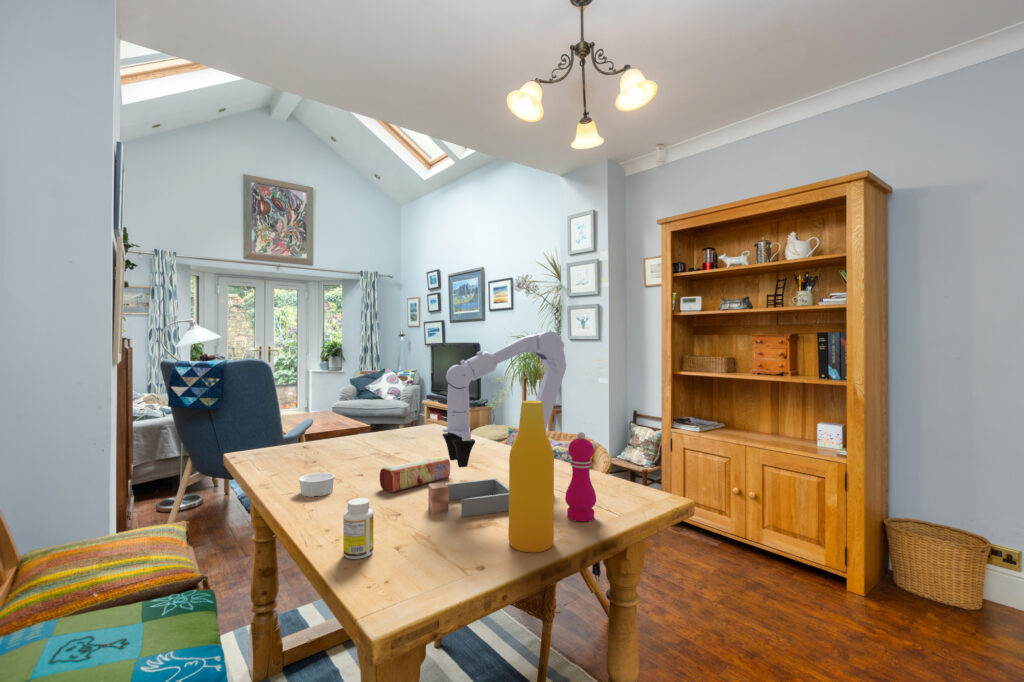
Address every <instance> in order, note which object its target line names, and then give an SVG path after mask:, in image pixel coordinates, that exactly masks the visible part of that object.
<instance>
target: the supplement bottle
mask: <svg viewBox="0 0 1024 682" xmlns="http://www.w3.org/2000/svg"><path fill="white" fill-rule="evenodd" d="M342 517H343V519H342V520H343V529H342V530H343V532H342V533H343V534H342V536H343V555H344V557H345V558H347V559H349V560H361V559H365V558H367V557H369V556H371V555H372V553H373V552H374V545H375V544H374V534H375V533H374V517H375V515H374V510H373V509H372V508H370V499H368V498H366V497H365V498H364V497H359V498H358V497H357V498H351V499H350V500H348V501H347V510H346V511H345V512H344V513H343V516H342Z"/></svg>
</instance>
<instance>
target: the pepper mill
mask: <svg viewBox="0 0 1024 682" xmlns="http://www.w3.org/2000/svg"><path fill="white" fill-rule="evenodd" d="M567 452H568V455H569V456H570V457H571V458H570V459H569V461H570V464H569V465H570V466H571V468H572V469H571V470H572V476H571V480H570V482H569V484H568V487H567V489H566V491H565V496H564V497H565V498H564V499H565V503H566V505H568V508H567V511H566V513H567V515H566V517H567V518H568V519H569V518H570V519H572V520H571V521H573V520H576V521H575V522H577V521H588V522H591V521H593V520H594V519H595V509H593V508H594V506H595V505H596V503H597V494H596V491H595V488H594V486H593V484H592V481H591V477H590V475H591V474H590V470H591V468H592V465H593V464H592V462H593V461H592V459H591V458H592V457H593V456H594V453H595V448H594V445H593V443H592V442H591V441H590V440H589V439H587V438H586V434H585V432H583V431H580V432H578V434H577V438H575V439H572V440H571V441H570V443H569V444H568V451H567ZM570 519H569V520H570ZM592 519H593V520H592ZM590 520H591V521H590Z"/></svg>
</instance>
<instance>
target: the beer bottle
mask: <svg viewBox="0 0 1024 682" xmlns="http://www.w3.org/2000/svg"><path fill="white" fill-rule="evenodd" d="M535 400H536V399H534V400H533V399H531V400H530V399H529V400H522V401H521V406H520V415H519V423H518V431H517V434H516V436H515V438H514V440H513V442H512V444H511V448H510V450H509V457H508V466H509V469H508V472H509V473H508V476H509V477H508V479H509V481H508V488H509V511H508V530H507V532H508V541H509V542H508V543H509V545H510V546H511V547H512V548H513V549H515V550H517V551H519V552H523V553H542V552H545V551H548V550H549V549H550V548H552V545H553V544H554V541H555V540H554V539H555V537H554V536H555V534H554V533H555V530H554V525H555V524H554V523H555V522H554V515H555V514H554V512H555V510H554V504H555V503H554V502H555V500H554V499H555V498H554V497H555V493H554V492H555V490H554V489H555V453H554V449H553V447H552V444H551V442H550V439H549V437H548V434H547V430H546V431H545V424H544V414H543V404H542V401H535Z"/></svg>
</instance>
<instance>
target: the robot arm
mask: <svg viewBox="0 0 1024 682" xmlns="http://www.w3.org/2000/svg"><path fill="white" fill-rule="evenodd" d="M564 348H565V343H564V341H563V339H562V338H561V337H560V336H559V334H558V333H557V332H555V331H550V330H549V331H537V332H535V333H533V334H528V335H526V336H523V337H520V338H518V339H517V340H515V341H513V342H511V343H509V344H507V345H505V346H503V347H501V348H500V349H498V350H495V351H494V352H490V351H486V350H485V351H482V350H479V351H477V352H476V355H474V356H472V357H470V358H468V359H466V360H464V359H462V360H460V364H454V365H452V366H450V367H449V368H448V369H447V371H446V375H445V379H446V382H447V394H446V395H447V396H446V397H447V398H446V402H447V403H446V407H447V409H446V411H447V412H446V413H447V416H446V417H447V418H446V419H447V424H446V427H445V428H442V432H443V433H442V437H443V439H444V442H445V444H446V448H447V454H448V456H449V461H457V462H456V463H457V466H458V468H467V467H468V464H469V460H470V455H471V452H472V449H473V447H474V445H475V444H476V440H475V439H474V438H472V437H471V436H472V433H471V427H470V393H469V390H470V389H469V388H470V387H469V386H470V383H471V382H472V381H473V382H474V381H476V380H478V379H481V378H482V377H485V376H486V375H490V373H491V374H492V372H495V371H496V369H497V365H498V364H500V363H503V362H505V361H507V360H510V359H512V358H513V357H516V356H519V355H520V354H523V353H534V354H535V355H537V356H538V358H540V360H541V362H542V363H543V365H544V367H545V370H544V372H543V373H544V374H543V377H542V378H541V382H540V385H539V389H538V392H537V395H536V398H535V399H534V400H535V401H542V404H543V414H544V424H545V431H546V432H547V427H548V424H549V421H550V418H551V415H552V412H553V409H554V406H555V403H556V400H557V397H558V394H559V391H560V388H561V385H562V382H563V380H564V376H565V373H566V370H567V361H566V356H565V349H564Z"/></svg>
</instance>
